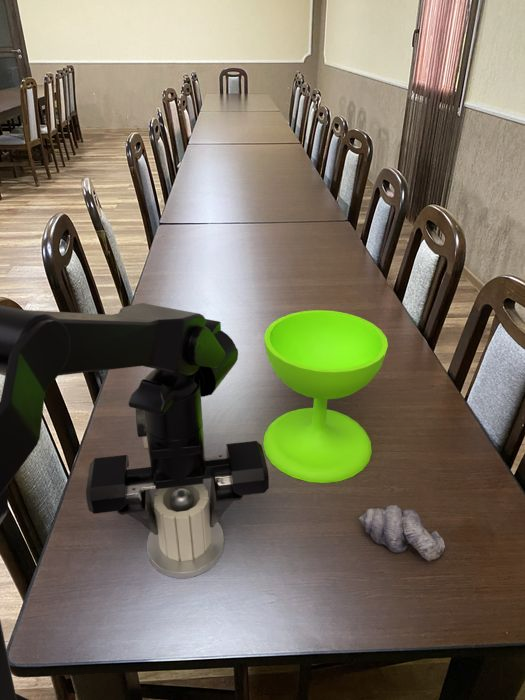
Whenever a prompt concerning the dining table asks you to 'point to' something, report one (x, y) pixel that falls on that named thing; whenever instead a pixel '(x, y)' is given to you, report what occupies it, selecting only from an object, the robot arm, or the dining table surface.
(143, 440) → the cream cube
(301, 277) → the dining table surface
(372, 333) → the wineglass
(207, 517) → the beige fluted tube
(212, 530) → the stand
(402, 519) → the seashell
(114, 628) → the dining table surface
